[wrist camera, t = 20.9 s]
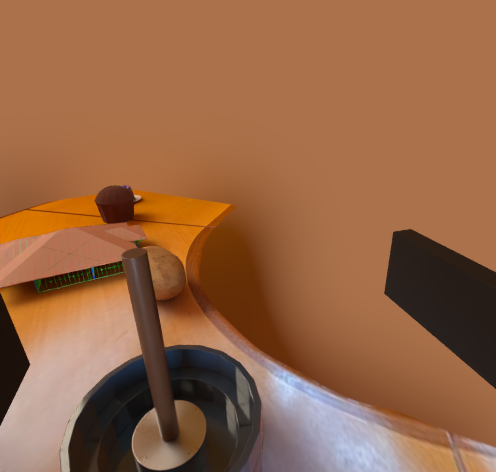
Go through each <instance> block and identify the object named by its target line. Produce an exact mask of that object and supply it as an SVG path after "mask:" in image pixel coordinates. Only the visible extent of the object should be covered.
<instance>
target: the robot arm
mask: <svg viewBox="0 0 496 472" xmlns="http://www.w3.org/2000/svg"><path fill="white" fill-rule="evenodd" d="M384 293H385V295H387V296H388V297H389V298H390V299H391V300H392V301H394V302H395V303H396V304H397V305H398V306H399V307H401V308H402V309H403V310H404V311H405V312H407V313H408V314H409V315H410V316H411V317H412V318H413V319H415V320H416V321H417V322H418V323H419V324H421V325H422V326H423V327H424V328H425V329H426V330H427V331H429V332H430V333H431V334H432V335H433V336H435V337H436V338H437V339H438V340H439V341H440V342H442V343H443V344H444V345H445V346H446V347H448V348H449V349H450V350H451V351H452V352H453V353H454V354H456V355H457V356H458V357H459V358H460V359H461V360H463V361H464V362H465V363H466V364H468V366H470V367H471V368H472V369H473V370H474V371H476V372H477V373H478V374H479V375H480V376H481V377H483V378H484V379H485V380H486V381H487V382H488V383H489V384H491V385H492V386H493V387H494V388H495V389H496V272H494V271H492V270H490V269H488V268H486V267H484V266H482V265H480V264H478V263H476V262H474V261H472V260H471V259H469V258H467V257H465V256H463V255H460V254H459V253H457V252H455V251H453V250H451V249H449V248H447V247H445V246H443V245H441V244H439V243H437V242H435V241H433V240H431V239H429V238H427V237H425V236H423V235H421V234H419V233H417V232H416V231H414V230H411V229H409V230H402V231H396V232H393V238H392V245H391V251H390V259H389V266H388V272H387V279H386V285H385V292H384ZM29 366H30V363H29V360H28V358H27V356H26V353H25V351H24V348H23V346H22V344H21V341H20V339H19V336H18V334H17V332H16V329H15V327H14V324H13V322H12V320H11V317H10V315H9V312H8V310H7V308H6V305H5V303H4V300H3V298H2V296H1V293H0V425H1V423H2V421H3V419H4V417H5V415H6V413H7V411H8V409H9V407H10V405H11V403H12V401H13V399H14V397H15V395H16V393H17V391H18V388H19V386H20V384H21V382H22V380H23V378H24V376H25V374H26V372H27V370H28V368H29Z"/></svg>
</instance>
